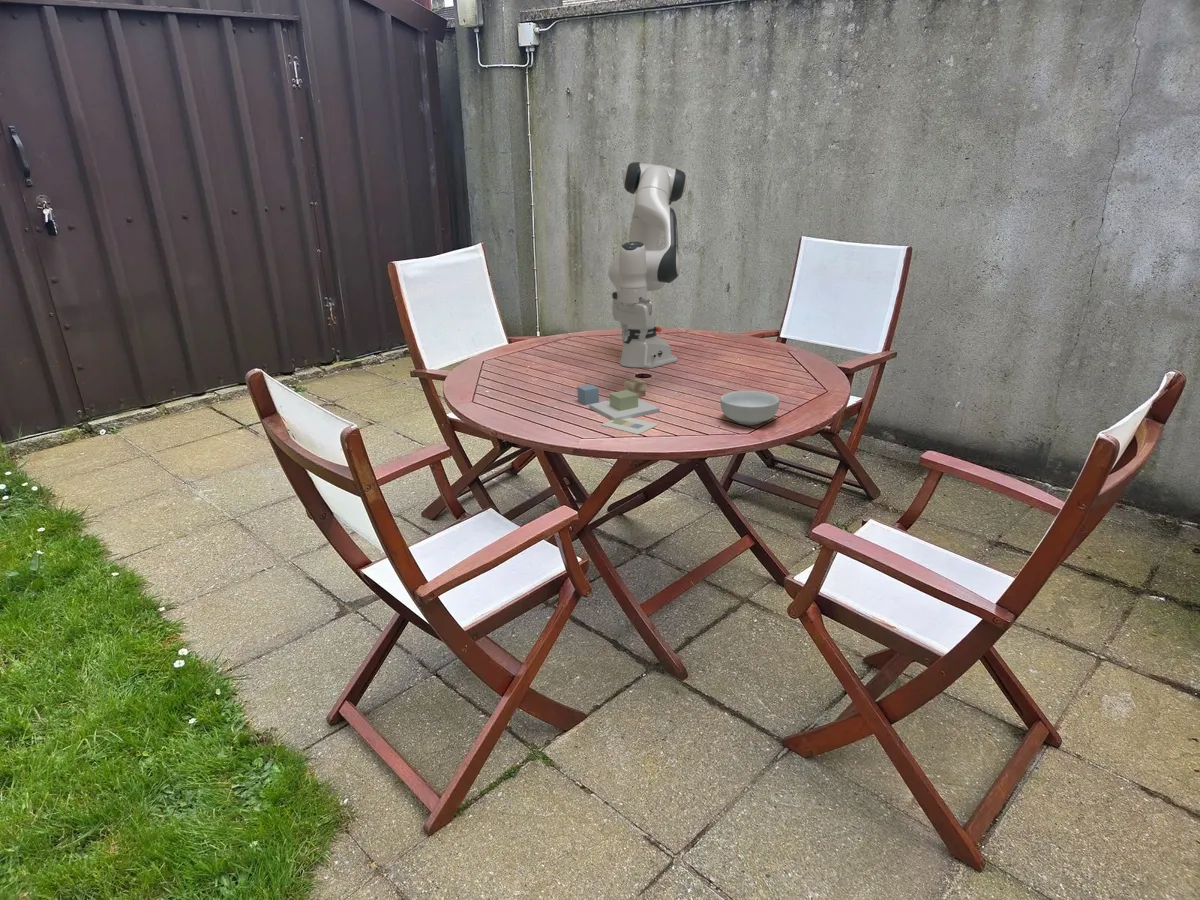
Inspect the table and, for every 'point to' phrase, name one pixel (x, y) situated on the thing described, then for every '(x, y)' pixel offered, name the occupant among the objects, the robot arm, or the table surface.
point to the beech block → (635, 386)
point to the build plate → (625, 413)
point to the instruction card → (630, 425)
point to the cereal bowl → (749, 406)
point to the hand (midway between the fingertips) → (633, 338)
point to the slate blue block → (588, 394)
